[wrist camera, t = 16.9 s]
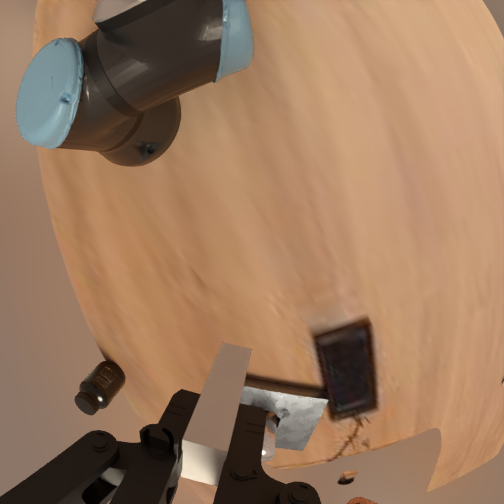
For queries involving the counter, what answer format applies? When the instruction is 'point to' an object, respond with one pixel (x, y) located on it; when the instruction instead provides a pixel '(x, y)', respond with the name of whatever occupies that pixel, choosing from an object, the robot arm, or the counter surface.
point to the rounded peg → (269, 436)
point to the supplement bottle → (99, 387)
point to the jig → (287, 409)
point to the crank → (360, 501)
